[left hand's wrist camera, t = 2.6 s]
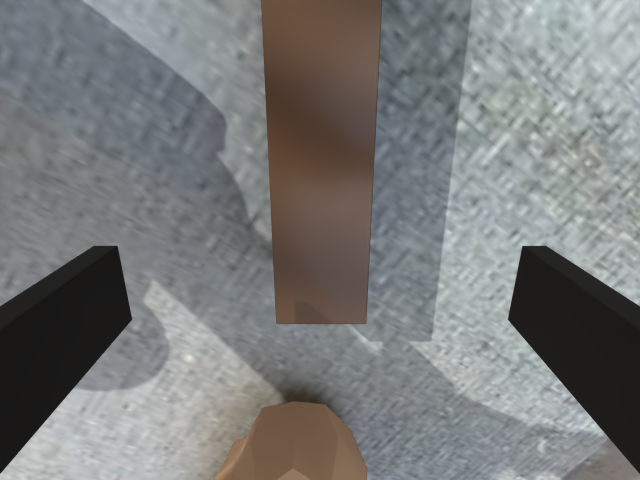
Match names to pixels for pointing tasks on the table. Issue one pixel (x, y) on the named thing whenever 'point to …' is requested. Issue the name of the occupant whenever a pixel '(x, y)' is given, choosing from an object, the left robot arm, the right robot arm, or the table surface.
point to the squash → (295, 447)
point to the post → (321, 154)
